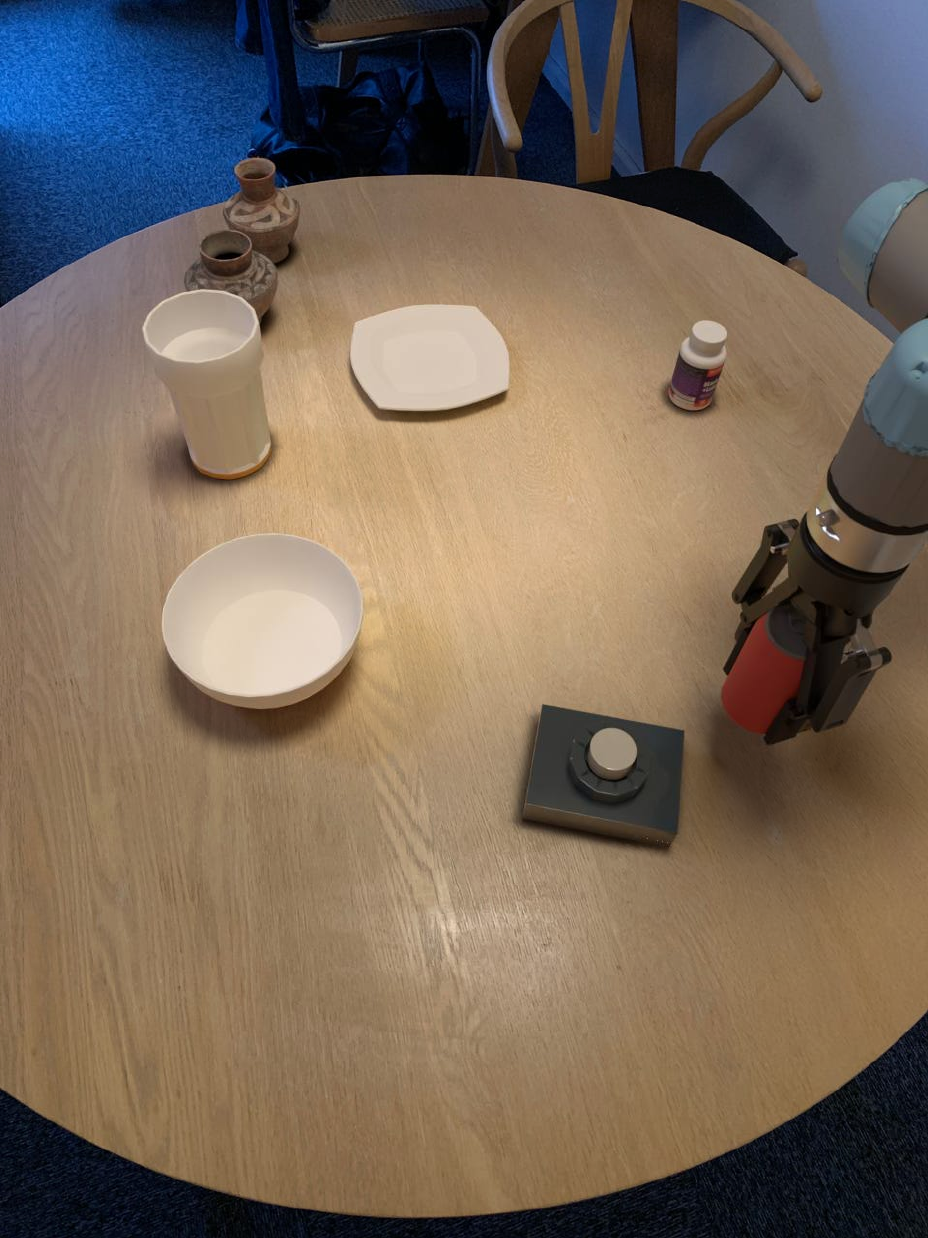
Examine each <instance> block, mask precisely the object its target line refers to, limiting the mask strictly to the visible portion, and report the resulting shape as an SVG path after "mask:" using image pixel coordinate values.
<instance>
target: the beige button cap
mask: <svg viewBox="0 0 928 1238" xmlns="http://www.w3.org/2000/svg"><path fill="white" fill-rule="evenodd" d="M636 756H637V747H636V744H635V742H634V740H633V739H632V737H631V736H630V735H629V734H627V733H626V732H624V731H622V730H620V729H616V728H607V729H603V730H601V731H599V732H597V733H596V734H595V735H594V736H593V738H592V740H591V743H590V746H589V749H588V752H587V762H588V765H589V767H590V769H591V770H592V771H593V772H594V773H595V774H596V775H597V776H599V777H601V778H603V779H606V780H618V779H621V778H623V777H625V776H626V775H627V774H628V773H629V772H630V771H631V769H632V766H633V764H634V762H635V759H636Z"/></svg>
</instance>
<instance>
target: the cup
mask: <svg viewBox="0 0 928 1238" xmlns="http://www.w3.org/2000/svg"><path fill="white" fill-rule="evenodd" d="M260 326H261V325H260V324H259V321H258V318H257V315H256V312H255V309H254V308H253V307H252V306H251V305H250V304H249V303H247V302H246V301H245V300H244V299H243V298H242V297H239V296H236V295H234V294H231V293H228V292H225V291H218V290H206V289H201V290H195V291H189V292H187V291H185V292H179V293H178V294H175V295H173V296H171V297H168V298H166V299H164V300H162V301H160V302H159V303H158V304H157V305H156V306H155V307H154V308H152V310H151V311H149V312H148V313H147V316H146V317H145V320H144V323H143V325H142V327H141V332H142V336H143V340H144V344H145V347H146V350H147V353H148V355H149V358H150V361H151V364H152V367H153V369H154V372H155V375H156V377H157V378H158V379H159V381H161V382H162V384H164V386H165V387H166V388H167V389H168V392H169V395H170V398H171V401H172V404H173V407H174V410H175V413H176V416H177V418H178V420H179V425H180V427H181V430H182V433H183V436H184V439H185V442H186V445H187V449H188V453H189V456H190V459H191V462H192V465H194V467H195V468H196V469H197V470H198V471H199V472H200V473H201V474H203V475H206V476H208V477H210V478H213V479H220V480H235V479H239V478H244V477H247V476H249V475H251V474H253V473H255V472H256V471H258V470H260V469H261V468H262V467H263V466H264V465H265V464H266V463H267V461H268V460H269V458H270V455H271V453H272V452H271V451H272V448H273V446H272V439H271V433H270V426H269V420H268V413H267V412H268V411H267V407H266V399H265V393H264V392H265V391H264V387H263V379H262V373H261V368H262V363H263V360H264V357H265V355H264V347H263V341H262V333H261V327H260Z"/></svg>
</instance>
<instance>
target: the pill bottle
mask: <svg viewBox="0 0 928 1238" xmlns="http://www.w3.org/2000/svg"><path fill="white" fill-rule="evenodd" d="M727 337H728V331H727V329H726V327H724V325H723V324H720V323H719V322H717V321H713V320H699V321H697V322H695V324H693V326H692V328H691V330H690V334H689V336H688V337H686V338H685V339H684V340H683V342H682V343H681V345H680V348H679V351H678V355H677V357H676V362H675V366H674V369H673V372H672V376H671V379H670V383H669V387H668V397H669V399H670V401H671V402H672V403H673V404H674V405H675V406H677V407H679V408H681V409H684V410H689V411H699V410H703V409H705V408H707V407H708V406H709V405H710V404H711V403H712V401H713V398H714V396H715V392H716V389H717V386H718V383H719V380H720V377H721V375H722V371H723V369H724V366H725V362H726V359H727V355H728V353H727V348H726V346H725V344H726V341H727Z"/></svg>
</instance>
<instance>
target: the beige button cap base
mask: <svg viewBox="0 0 928 1238" xmlns="http://www.w3.org/2000/svg"><path fill="white" fill-rule="evenodd" d="M607 728H616V729H620V730H622V731H624V732H626V733H627V734H629V735H630V736H631V737H632V739H633V740H634V742H635V744H636V747H637V756H636V759H635V762H634V764H633V766H632V769H631V771H630V772H629V773H628V774H627V775H626V776H625V777H623V778H621V779H618V780H606V779H603V778H601V777H599V776H597V775H596V774H595V773H594V772H593V771H592V770H591V769H590V767H589V765H588V762H587V752H588V749H589V746H590V743H591V740H592V738H593V736H594V735H595V734H596V733H597V732H599V731H601V730H603V729H607ZM684 746H685V729H679V728H673V727H668V726H663V725H657V724H652V723H646V722H641V721H636V720H635V721H634V720H631V719H626V718H620V717H615V716H609V715H603V714H598V713H593V712H587V711H582V710H577V709H571V708H566V707H560V706H555V705H550V704H544V703H542V704H541V709H540V714H539V719H538V724H537V729H536V734H535V741H534V747H533V753H532V759H531V763H530V764H531V765H530V771H529V776H528V783H527V788H526V794H525V800H524V806H523V811H522V819H523V820H528V821H533V822H539V823H543V824H547V825H548V824H549V825H554V826H559V827H563V828H568V829H573V830H578V831H585V832H589V833H594V834H600V835H604V836H609V837H615V838H620V839H625V840H628V841H629V840H630V841H636V842H640V843H645V844H650V845H655V846H660V847H665V848H671V846H672V844H673V843H674V840H675V839H676V837H677V835H678V833H679V819H680V805H681V803H680V802H681V789H682V774H683V761H684V760H683V758H684ZM636 836H637V837H636ZM647 838H648V839H647ZM657 840H658V841H657ZM662 841H663V842H662ZM667 842H668V843H667Z"/></svg>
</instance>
